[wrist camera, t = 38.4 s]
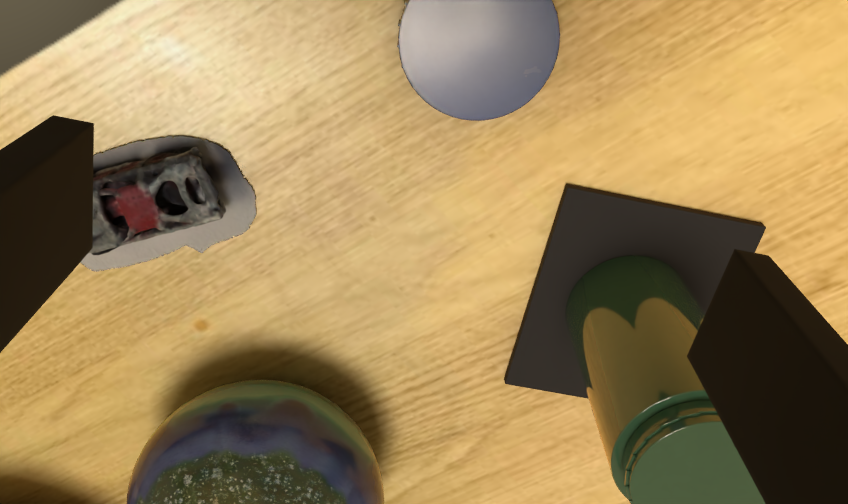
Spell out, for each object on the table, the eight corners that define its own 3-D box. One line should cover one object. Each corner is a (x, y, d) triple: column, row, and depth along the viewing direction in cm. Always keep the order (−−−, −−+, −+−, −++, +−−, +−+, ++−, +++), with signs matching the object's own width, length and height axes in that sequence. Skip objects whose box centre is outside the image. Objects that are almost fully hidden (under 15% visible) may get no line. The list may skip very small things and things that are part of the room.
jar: (585, 244, 44) (652, 398, 31) (708, 267, 45) (822, 428, 32) (550, 349, 47) (596, 529, 34) (664, 370, 48) (752, 553, 35)
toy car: (21, 193, 43) (-7, 215, 41) (187, 92, 41) (169, 108, 38) (116, 302, 47) (96, 329, 44) (275, 215, 44) (265, 238, 41)
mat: (565, 183, 43) (567, 187, 42) (762, 223, 44) (766, 227, 44) (503, 378, 49) (504, 384, 49) (677, 409, 50) (680, 414, 50)
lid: (379, 84, 40) (377, 93, 39) (427, -73, 37) (427, -70, 35) (520, 131, 42) (524, 141, 40) (580, -17, 38) (587, -12, 36)
